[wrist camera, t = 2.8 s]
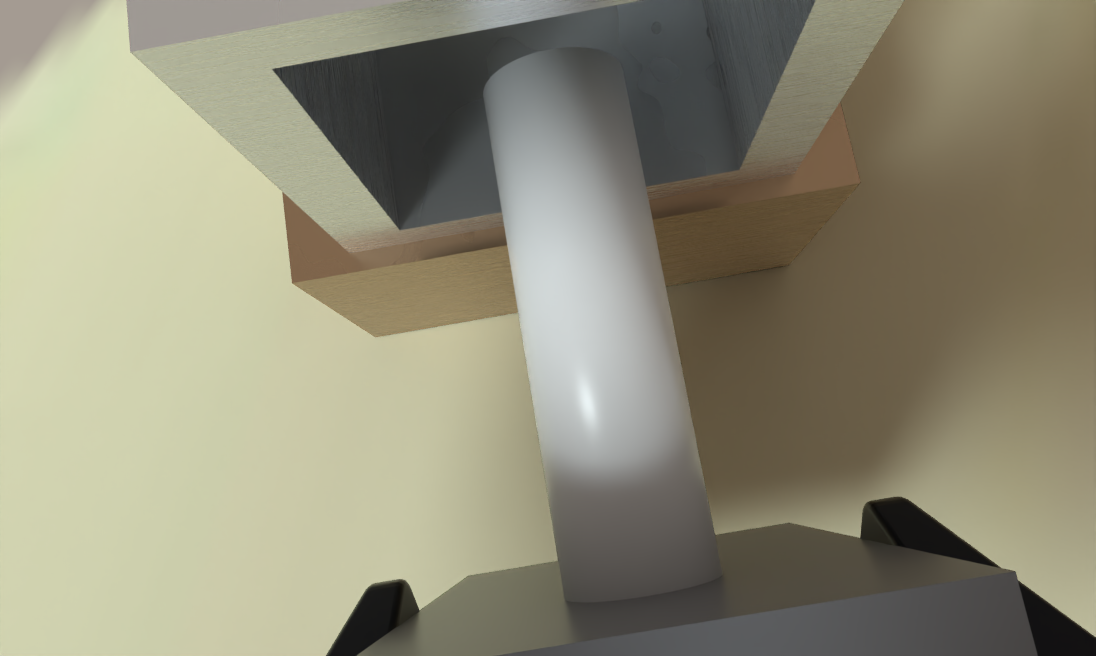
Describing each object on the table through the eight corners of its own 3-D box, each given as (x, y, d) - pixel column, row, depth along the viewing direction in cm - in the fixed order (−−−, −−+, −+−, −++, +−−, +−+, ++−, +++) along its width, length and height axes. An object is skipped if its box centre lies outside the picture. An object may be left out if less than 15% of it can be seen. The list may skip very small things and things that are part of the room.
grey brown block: (788, 265, 16) (1099, -91, 6) (375, 336, 17) (21, 108, 6) (726, -9, 18) (903, -689, 7) (341, 63, 18) (-6, -499, 8)
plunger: (826, 695, 12) (1122, 971, 5) (492, 748, 12) (356, 1084, 5) (716, 186, 14) (834, -113, 7) (420, 239, 14) (244, -1, 7)
